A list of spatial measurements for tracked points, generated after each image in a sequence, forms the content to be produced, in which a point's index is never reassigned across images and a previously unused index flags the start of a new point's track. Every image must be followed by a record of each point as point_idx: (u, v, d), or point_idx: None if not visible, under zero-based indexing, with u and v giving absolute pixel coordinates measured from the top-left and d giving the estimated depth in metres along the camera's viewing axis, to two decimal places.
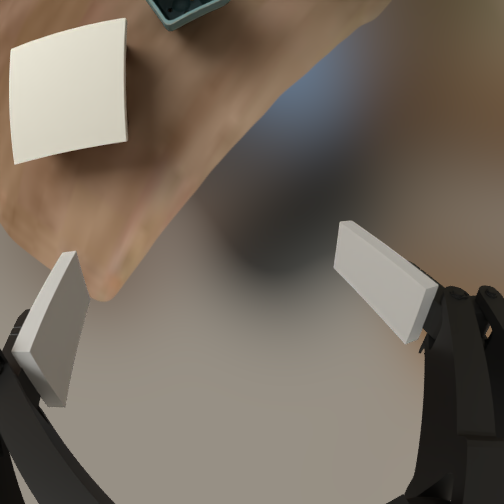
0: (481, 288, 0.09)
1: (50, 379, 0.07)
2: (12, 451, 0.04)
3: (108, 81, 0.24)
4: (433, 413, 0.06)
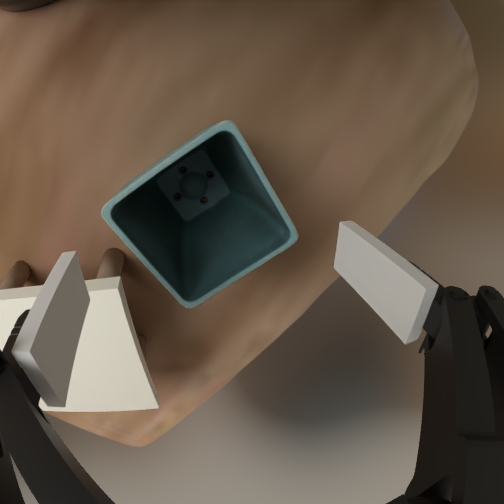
0: (481, 288, 0.09)
1: (50, 379, 0.07)
2: (12, 451, 0.04)
3: (122, 365, 0.21)
4: (433, 413, 0.06)
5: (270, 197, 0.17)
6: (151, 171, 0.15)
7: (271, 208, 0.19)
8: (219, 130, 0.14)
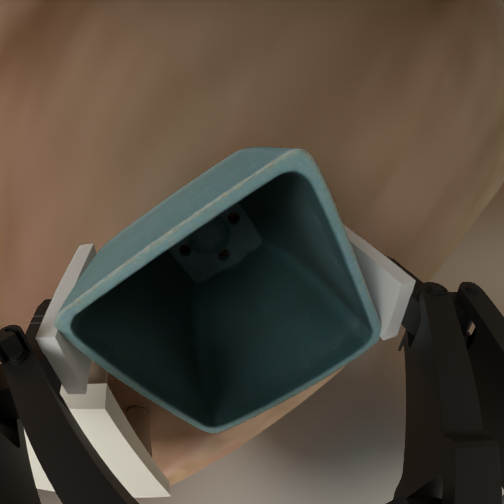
0: (462, 285, 0.10)
1: (73, 365, 0.08)
2: (31, 438, 0.04)
3: (123, 469, 0.13)
4: (417, 413, 0.06)
5: (355, 288, 0.10)
6: (137, 258, 0.07)
7: (342, 291, 0.12)
8: (282, 171, 0.07)
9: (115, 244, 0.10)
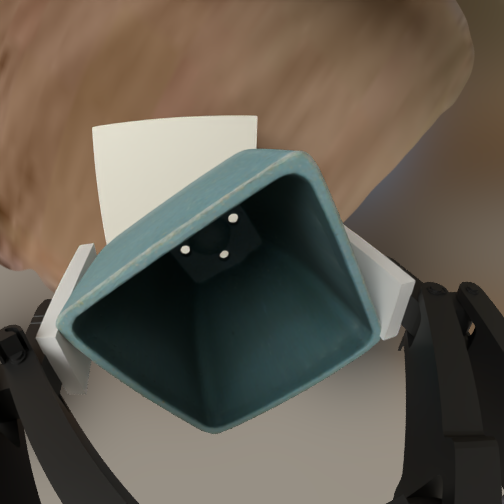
0: (462, 285, 0.10)
1: (73, 365, 0.08)
2: (31, 438, 0.04)
3: None
4: (417, 413, 0.06)
5: (356, 289, 0.10)
6: (138, 260, 0.07)
7: (343, 292, 0.12)
8: (283, 173, 0.07)
9: (116, 245, 0.10)
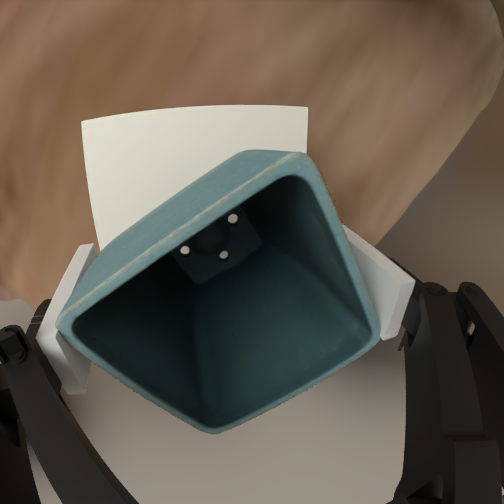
0: (462, 285, 0.10)
1: (73, 365, 0.08)
2: (30, 438, 0.04)
3: None
4: (417, 413, 0.06)
5: (355, 290, 0.10)
6: (137, 261, 0.07)
7: (342, 292, 0.12)
8: (282, 174, 0.07)
9: (116, 246, 0.10)
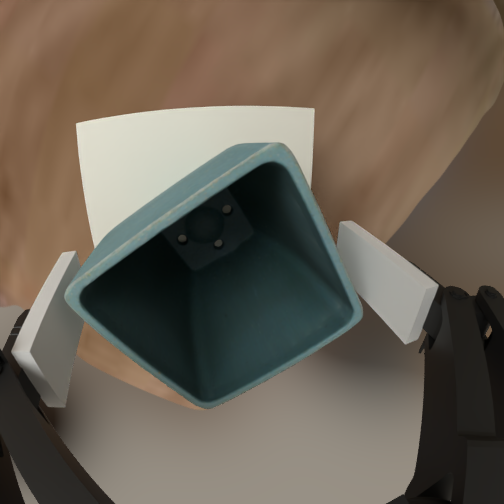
0: (481, 288, 0.09)
1: (50, 379, 0.07)
2: (12, 451, 0.04)
3: None
4: (433, 413, 0.06)
5: (334, 268, 0.11)
6: (140, 235, 0.08)
7: (325, 273, 0.13)
8: (263, 161, 0.08)
9: (120, 229, 0.11)
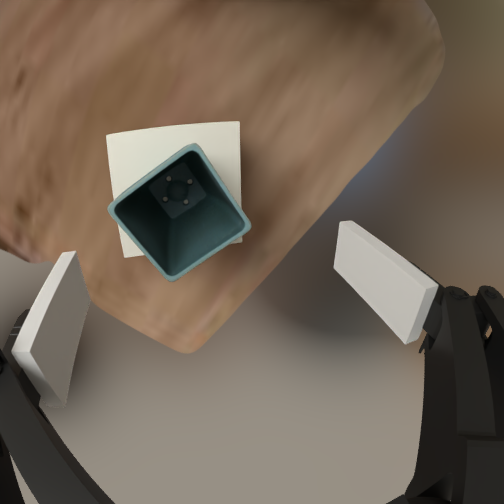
0: (481, 288, 0.09)
1: (50, 379, 0.07)
2: (12, 451, 0.04)
3: None
4: (433, 413, 0.06)
5: (227, 196, 0.24)
6: (142, 180, 0.21)
7: (231, 205, 0.26)
8: (188, 150, 0.21)
9: None
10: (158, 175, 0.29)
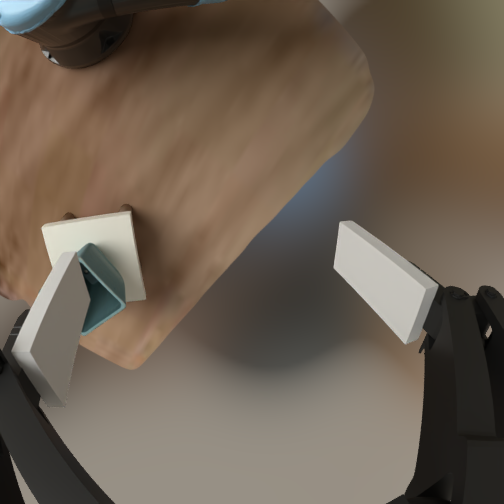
0: (481, 288, 0.09)
1: (50, 379, 0.07)
2: (12, 451, 0.04)
3: (127, 263, 0.41)
4: (433, 413, 0.06)
5: (106, 288, 0.32)
6: None
7: None
8: None
9: None
10: None
